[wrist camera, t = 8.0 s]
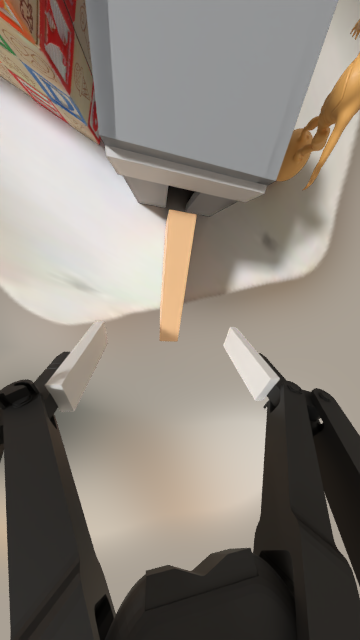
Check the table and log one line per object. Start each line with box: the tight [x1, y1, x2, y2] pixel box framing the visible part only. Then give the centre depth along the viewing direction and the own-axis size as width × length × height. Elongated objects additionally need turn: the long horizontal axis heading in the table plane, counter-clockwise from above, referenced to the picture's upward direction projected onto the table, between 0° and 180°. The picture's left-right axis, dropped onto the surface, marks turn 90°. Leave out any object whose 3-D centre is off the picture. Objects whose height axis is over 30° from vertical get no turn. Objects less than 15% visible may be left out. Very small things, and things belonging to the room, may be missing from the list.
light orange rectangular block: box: [160, 209, 197, 341], centre depth 19 cm, size 14×2×9 cm, turn 173°
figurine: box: [276, 20, 360, 190], centre depth 13 cm, size 8×6×12 cm
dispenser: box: [85, 0, 338, 216], centre depth 10 cm, size 12×10×13 cm
